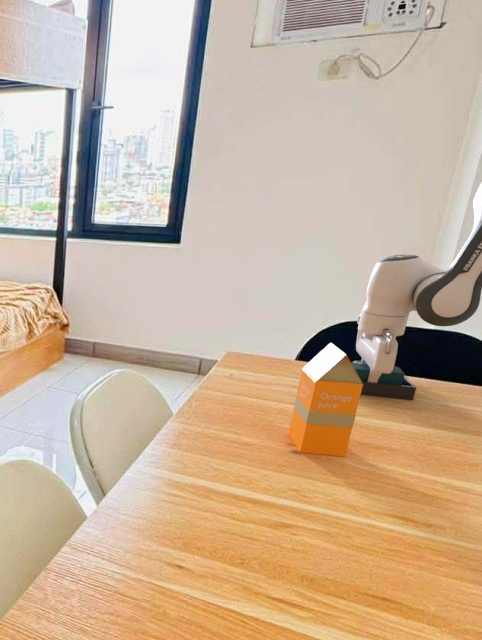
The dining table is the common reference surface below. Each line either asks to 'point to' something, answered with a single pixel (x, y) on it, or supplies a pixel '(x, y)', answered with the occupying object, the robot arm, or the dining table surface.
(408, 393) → the dark grey tray
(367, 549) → the dining table surface
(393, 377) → the dark teal block
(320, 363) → the orange juice
